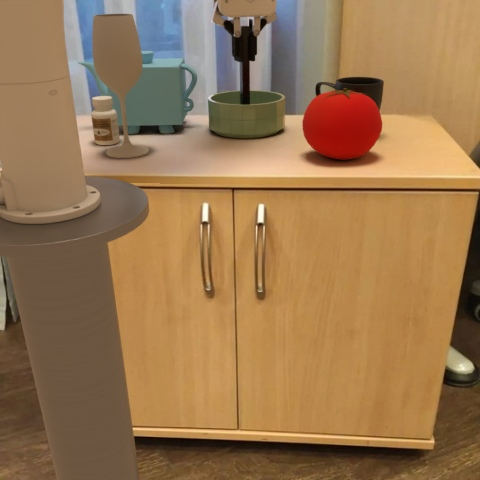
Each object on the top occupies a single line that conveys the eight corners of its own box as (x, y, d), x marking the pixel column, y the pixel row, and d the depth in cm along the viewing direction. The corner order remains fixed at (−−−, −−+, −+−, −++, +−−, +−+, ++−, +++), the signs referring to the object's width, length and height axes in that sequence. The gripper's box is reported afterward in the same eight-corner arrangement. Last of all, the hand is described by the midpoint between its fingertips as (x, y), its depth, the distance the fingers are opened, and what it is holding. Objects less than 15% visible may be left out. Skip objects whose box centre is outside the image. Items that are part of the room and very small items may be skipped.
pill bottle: (90, 144, 106) (84, 99, 103) (102, 138, 110) (97, 94, 106) (112, 146, 105) (107, 100, 101) (124, 140, 109) (119, 95, 105)
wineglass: (134, 160, 97) (119, 17, 87) (95, 155, 100) (77, 16, 90) (158, 148, 103) (147, 13, 93) (121, 144, 106) (107, 13, 96)
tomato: (391, 160, 95) (399, 90, 90) (325, 171, 91) (329, 98, 86) (351, 143, 104) (355, 79, 99) (289, 153, 100) (290, 86, 94)
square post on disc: (238, 124, 109) (236, 27, 101) (229, 119, 112) (227, 25, 105) (260, 121, 110) (260, 26, 102) (251, 117, 114) (251, 24, 106)
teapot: (201, 120, 122) (198, 46, 115) (197, 133, 112) (193, 54, 105) (93, 122, 122) (83, 48, 115) (79, 135, 112) (68, 56, 106)
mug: (323, 126, 115) (326, 74, 111) (384, 133, 110) (390, 78, 105) (306, 136, 109) (308, 81, 104) (370, 143, 104) (375, 86, 99)
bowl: (224, 142, 106) (223, 107, 103) (199, 125, 118) (198, 93, 115) (297, 134, 110) (298, 100, 107) (266, 118, 122) (266, 87, 119)
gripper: (204, -62, 92) (209, 66, 101) (297, -62, 97) (293, 60, 106) (190, -60, 98) (196, 61, 107) (277, -60, 103) (276, 55, 112)
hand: (244, 60), depth 106 cm, fingers closed on square post on disc, 1 cm apart
